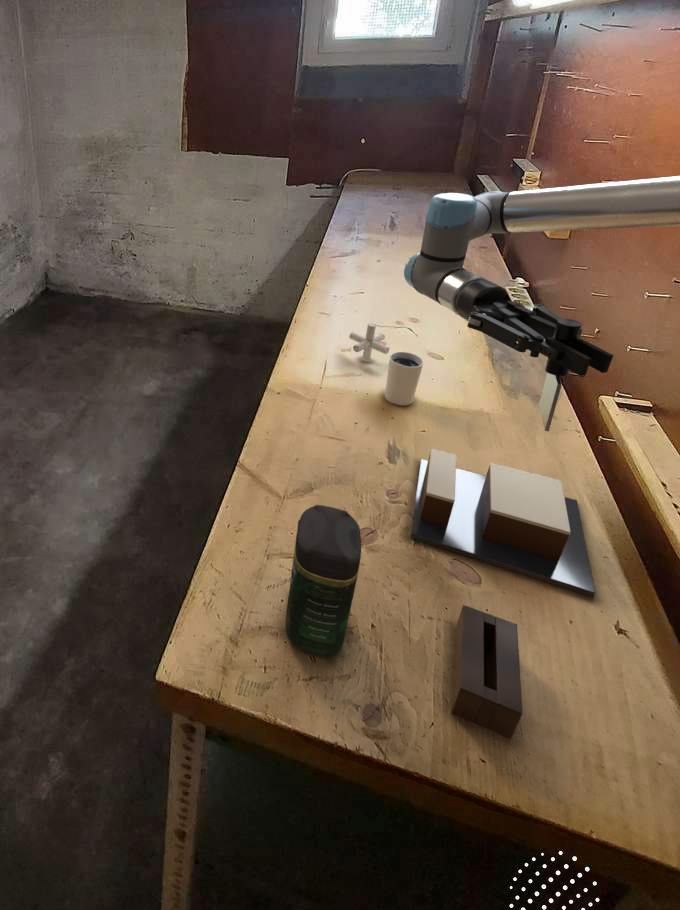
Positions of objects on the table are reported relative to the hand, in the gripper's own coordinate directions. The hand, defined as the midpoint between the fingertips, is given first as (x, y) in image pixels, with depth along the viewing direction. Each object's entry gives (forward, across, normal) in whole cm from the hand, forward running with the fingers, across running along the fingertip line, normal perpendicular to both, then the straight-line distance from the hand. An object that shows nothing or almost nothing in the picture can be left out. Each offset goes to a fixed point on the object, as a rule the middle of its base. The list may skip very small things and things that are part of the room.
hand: (596, 365), depth 77 cm
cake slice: (-9, +12, -30) cm, 34 cm away
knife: (-5, 0, -12) cm, 13 cm away
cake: (-2, +2, -30) cm, 30 cm away
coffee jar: (+7, +42, -31) cm, 53 cm away
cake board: (-3, +4, -31) cm, 32 cm away
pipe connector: (-55, -3, -31) cm, 64 cm away
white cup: (-39, -1, -31) cm, 50 cm away
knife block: (+19, +25, -31) cm, 44 cm away
